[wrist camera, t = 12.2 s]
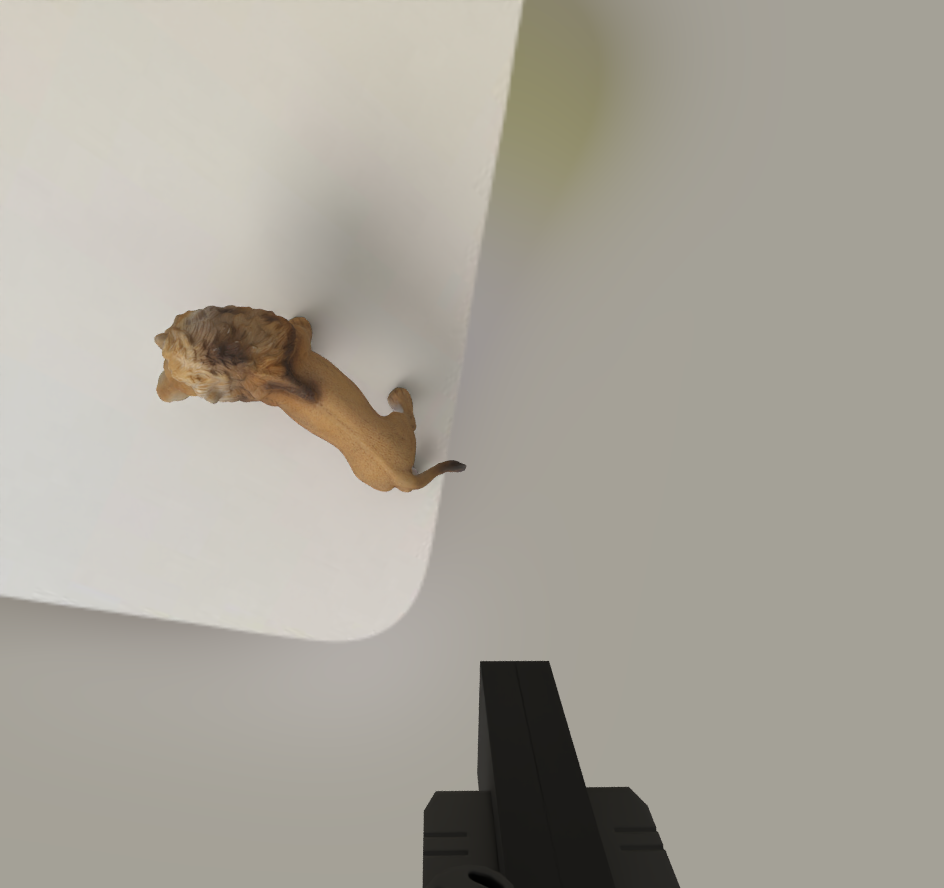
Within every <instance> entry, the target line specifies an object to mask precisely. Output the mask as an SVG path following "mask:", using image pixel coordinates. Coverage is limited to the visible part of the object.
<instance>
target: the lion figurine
mask: <svg viewBox="0 0 944 888" xmlns="http://www.w3.org/2000/svg"><path fill="white" fill-rule="evenodd" d="M154 339H155V343H156V344H157V345H158V346H159V347H160V348H161V349H162V356H163V357H164V358H165V361H164V366H163V368H164V371H163V372H162V373H161V375H160V377H159V380H158V385H157V388H156V391H157V394H158V396H159V397H160V399H161V400H163V401H165V402H172V401H181V400H184V399H186V398H187V397H189V396H199V397H201V398H204V399H205V400H207V401H208V402H210V403H213V404H215V403H217V402H218V401H220V402H227V401H229V402H235V401H239V400H240V401H243V402H250V401H262V402H263V403H265V404H267V405H270V406H279V407H280V408H281V409H282V410H283V411H284V412H285V413H286V414H287V415H289V416H290V417H291V418H292V419H293V420H294V421H295V422H297V423H298V424H299V425H301V426H302V427H304V428H305V429H307V430H308V431H310V432H311V433H313V434H315V435H317V436H318V437H320V438H322V439H324V440H326V441H327V442H329V443H331V444H332V445H334V446H335V447H336V448H338V449H339V450H340V451H341V452H342V453H343V455H344V456H345V458H346V459H347V461H348V463H349V465H350V466H351V468H352V470H353V472H354V474H355V475H356V476H357V478H359V479H360V480H361V481H362V482H364V483H366V484H368V485H369V486H371V487H373V488H374V489H376V490H379V491H384V492H385V491H390V490H392V489H393V488H394V487H396V488H398V489H399V490H401V491H403V492H411V491H412V490H415V489H420V488H423V487H424V486H426V485H427V484H428V483H429V482H430V481H432V480H433V479H434V478H435V477H436V476H438V475H440V474H443V473H445V472H462V471H464V470H465V468H466V465H465V464H462V463H459V462H458V461H454V460H450V461H445V462H442V463H438V464H437V465H435V466H434V467H432V468H430V469H428V470H426V471H424V472H423V473H421V474H418V472H417V470H416V469H415V468H414V467H413V464H414V461H415V453H416V438H415V434H414V431H415V429H416V422H415V418H414V415H413V404H412V399H411V396H410V394H409V392H408V391H407V390H406V389H404V388H395V389H394V390H393V391H392V392H391V393H390V394H389V396H388V398H387V400H388V403H389V405H390V406H391V408H392V409H393V410H394V411H395V412H392V413H390V414H389V415H388V416H385V417H383V416H380V415H379V414H378V413H377V412H376V411H375V410H374V409H373V408H372V406H371V405H370V404H369V402H368V401H367V399H366V398H365V396H364V395H363V393H362V392H361V391H360V389H359V388H358V387H357V386H356V385H355V384H354V383H353V382H352V381H351V380H350V379H349V378H348V377H346V376H345V375H344V374H343V373H342V372H341V371H340V370H339V369H338V368H337V367H335V366H334V365H333V364H332V363H331V362H329V361H328V360H327V359H325V358H324V357H322V356H320V355H319V354H317V353H315V352H313V351H312V350H311V340H312V329H311V326H310V323H309V321H308V320H307V319H305V318H304V317H295V318H293V319H291V320H290V321H288V320H286V319H285V318H283V317H280V316H277V315H275V314H274V312H273V311H265V310H262V309H252V308H251V307H236V306H233V305H230V306H226V307H224V308H221V307H216V306H208V307H205V308H204V309H198V310H196V311H187V312H186V313H184V314H181V315H177V316H176V317H175V320H174V324H173V325H172V326H171V327H170V328H168V329H167V330H166V331H165V333H161V334H158V335H156V336H155V338H154Z"/></svg>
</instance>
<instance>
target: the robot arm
mask: <svg viewBox="0 0 944 888" xmlns="http://www.w3.org/2000/svg"><path fill="white" fill-rule="evenodd" d="M477 774H478V785H479V791H436V792H435V793H434V795H433V797H432V798H431V800H430V802H429V803H428V805H427V807H426V808H425V810H424V838H423V841H424V842H423V888H680V886H679V884H678V881H677V879H676V876H675V874H674V871H673V869H672V866H671V864H670V861H669V858H668V856H667V853H666V851H665V850H664V849H663V843H662V841H661V838H660V836H659V834H658V832H657V831H656V826H655V823H654V821H653V818H652V816H651V813H650V811H649V808H648V806H647V805H646V804H645V803H644V802H643V801H642V800H641V799H640V798H639V797H638V796H637V795H636V794H635V793H634V792H633V791H632V790H631V789H630V788H629V787H589V788H588V787H586V786H585V782H584V779H583V775H582V772H581V769H580V766H579V762H578V758H577V755H576V752H575V748H574V745H573V742H572V738H571V735H570V731H569V728H568V724H567V721H566V718H565V714H564V711H563V707H562V704H561V701H560V697H559V694H558V691H557V687H556V684H555V680H554V677H553V673H552V670H551V667H550V663H549V661H481V662H480V691H479V731H478V768H477Z"/></svg>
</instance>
